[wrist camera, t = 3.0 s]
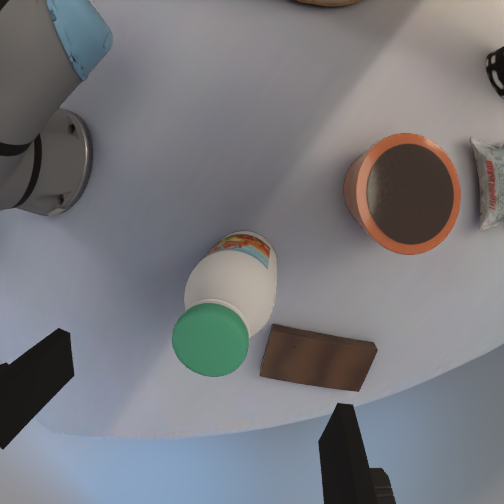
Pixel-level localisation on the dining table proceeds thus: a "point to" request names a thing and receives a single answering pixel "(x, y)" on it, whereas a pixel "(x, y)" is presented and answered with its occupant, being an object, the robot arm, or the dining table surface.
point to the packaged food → (490, 183)
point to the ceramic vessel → (329, 2)
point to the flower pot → (404, 193)
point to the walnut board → (316, 359)
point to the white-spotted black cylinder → (496, 70)
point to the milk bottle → (226, 304)
